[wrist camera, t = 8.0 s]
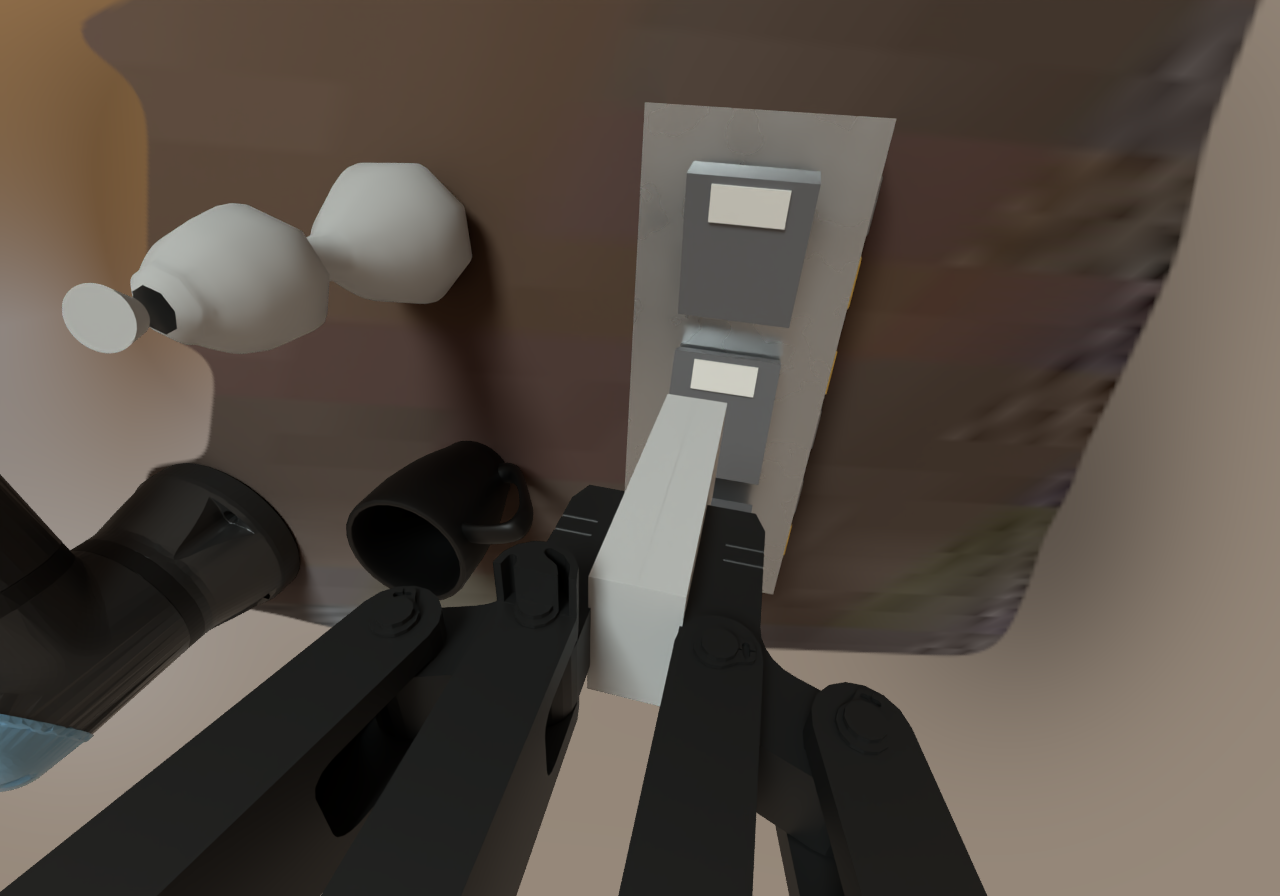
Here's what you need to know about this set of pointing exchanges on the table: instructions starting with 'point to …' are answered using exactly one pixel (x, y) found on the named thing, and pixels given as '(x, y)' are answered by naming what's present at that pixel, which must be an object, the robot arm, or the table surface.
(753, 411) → the switch
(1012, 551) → the table surface
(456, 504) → the mug
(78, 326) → the figurine
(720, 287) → the switch
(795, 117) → the console
